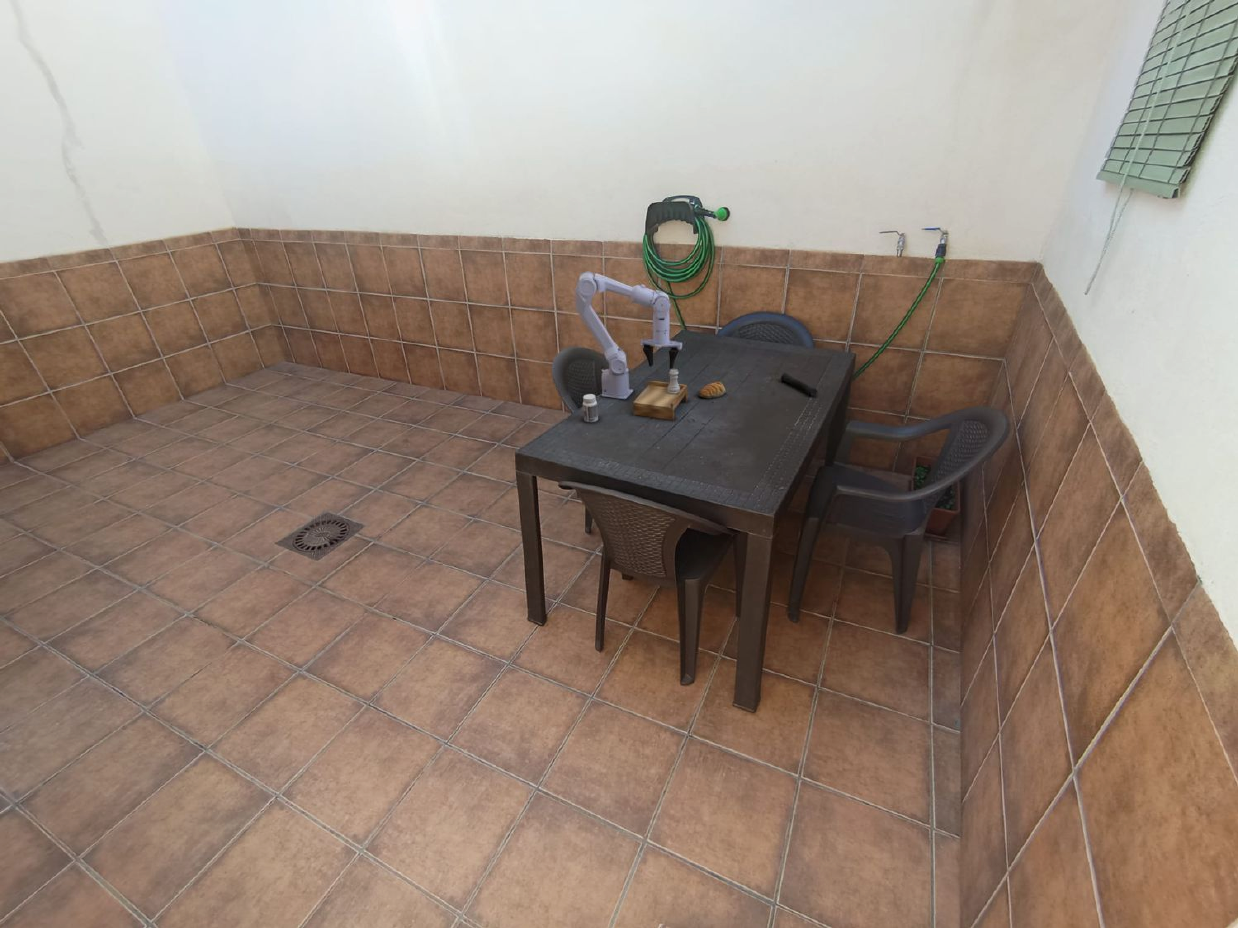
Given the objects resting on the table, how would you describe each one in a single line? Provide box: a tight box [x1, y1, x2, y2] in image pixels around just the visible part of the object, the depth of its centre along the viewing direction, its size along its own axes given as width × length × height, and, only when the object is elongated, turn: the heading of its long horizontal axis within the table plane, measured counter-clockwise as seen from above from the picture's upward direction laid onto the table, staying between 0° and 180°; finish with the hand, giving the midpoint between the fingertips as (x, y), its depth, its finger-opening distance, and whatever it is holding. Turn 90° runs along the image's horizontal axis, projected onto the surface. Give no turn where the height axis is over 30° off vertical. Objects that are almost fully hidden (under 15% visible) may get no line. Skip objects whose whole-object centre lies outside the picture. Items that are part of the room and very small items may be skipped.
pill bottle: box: [582, 393, 599, 423], centre depth 185 cm, size 5×5×8 cm
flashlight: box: [780, 372, 818, 397], centre depth 201 cm, size 3×16×3 cm, turn 23°
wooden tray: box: [632, 380, 688, 421], centre depth 191 cm, size 14×16×6 cm
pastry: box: [699, 381, 726, 399], centre depth 199 cm, size 9×7×4 cm
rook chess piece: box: [667, 368, 680, 394], centre depth 190 cm, size 4×4×8 cm
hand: (661, 366), depth 198 cm, fingers open, 7 cm apart
